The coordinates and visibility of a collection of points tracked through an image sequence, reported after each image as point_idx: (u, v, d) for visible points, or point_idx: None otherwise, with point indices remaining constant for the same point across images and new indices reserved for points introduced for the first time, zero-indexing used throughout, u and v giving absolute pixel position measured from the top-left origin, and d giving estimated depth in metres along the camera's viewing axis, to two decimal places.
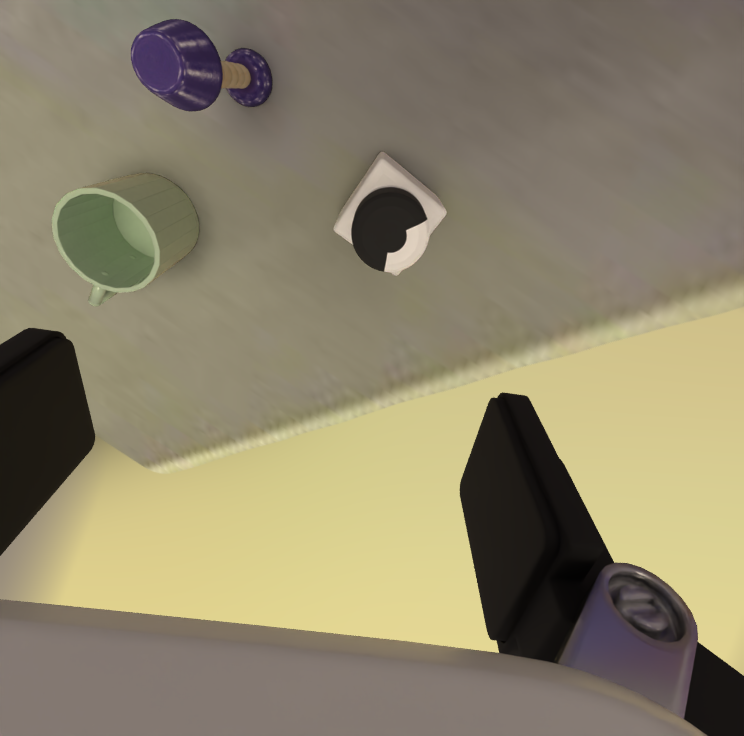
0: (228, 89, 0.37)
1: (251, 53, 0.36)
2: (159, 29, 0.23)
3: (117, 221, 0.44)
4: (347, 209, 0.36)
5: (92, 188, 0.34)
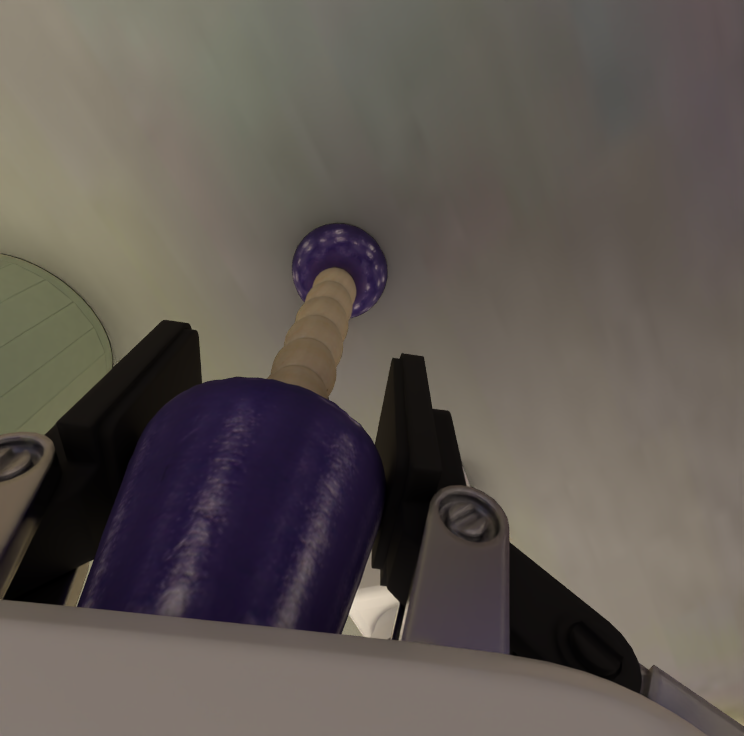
0: (297, 276, 0.18)
1: (375, 257, 0.18)
2: None
3: None
4: (381, 591, 0.20)
5: None
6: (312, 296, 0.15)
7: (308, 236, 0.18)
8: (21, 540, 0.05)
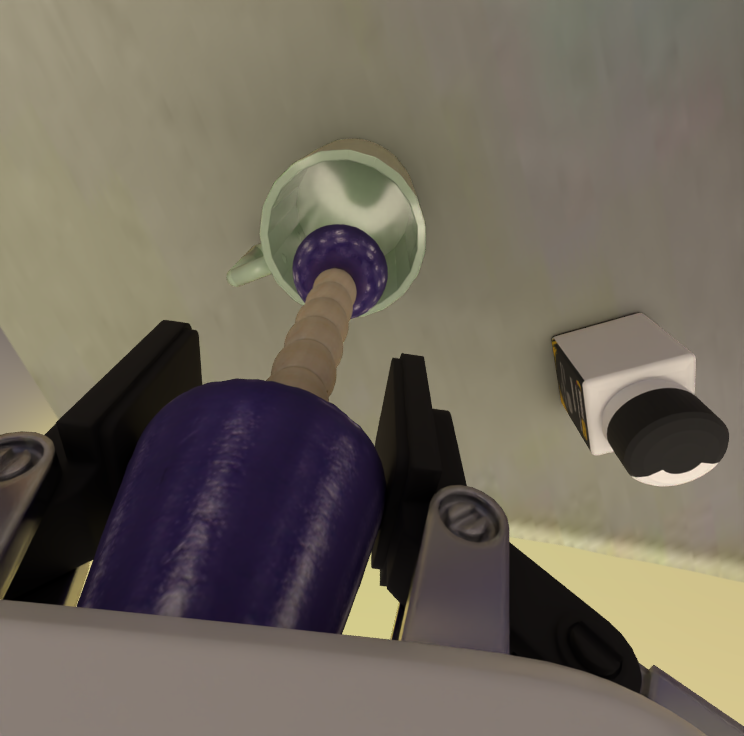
0: (297, 277, 0.18)
1: (375, 257, 0.18)
2: None
3: (306, 178, 0.29)
4: (617, 375, 0.29)
5: (394, 171, 0.21)
6: (312, 297, 0.15)
7: (308, 237, 0.18)
8: (21, 540, 0.05)
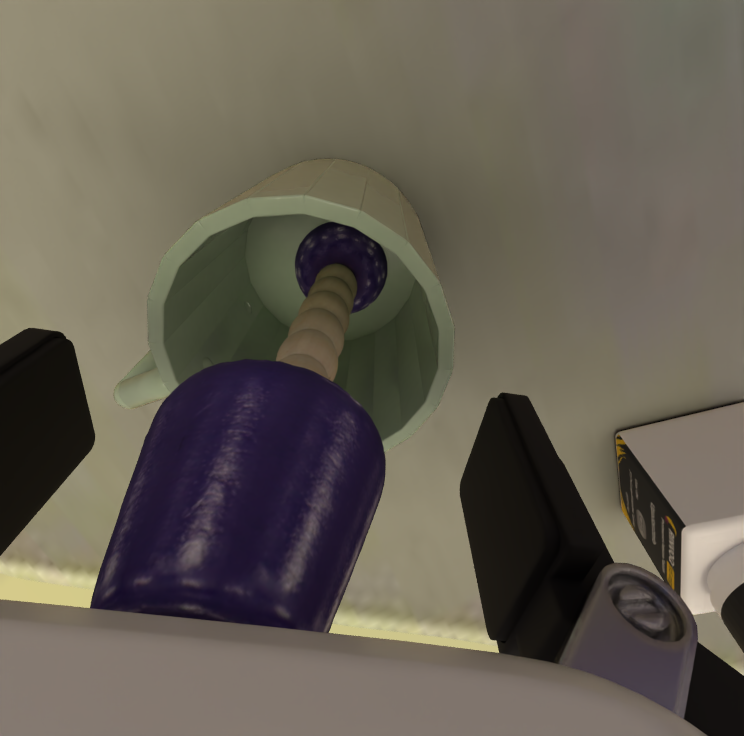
0: (299, 272, 0.19)
1: (375, 253, 0.18)
2: (284, 584, 0.05)
3: (258, 219, 0.19)
4: (740, 522, 0.19)
5: (396, 236, 0.11)
6: (314, 290, 0.15)
7: (310, 233, 0.19)
8: None
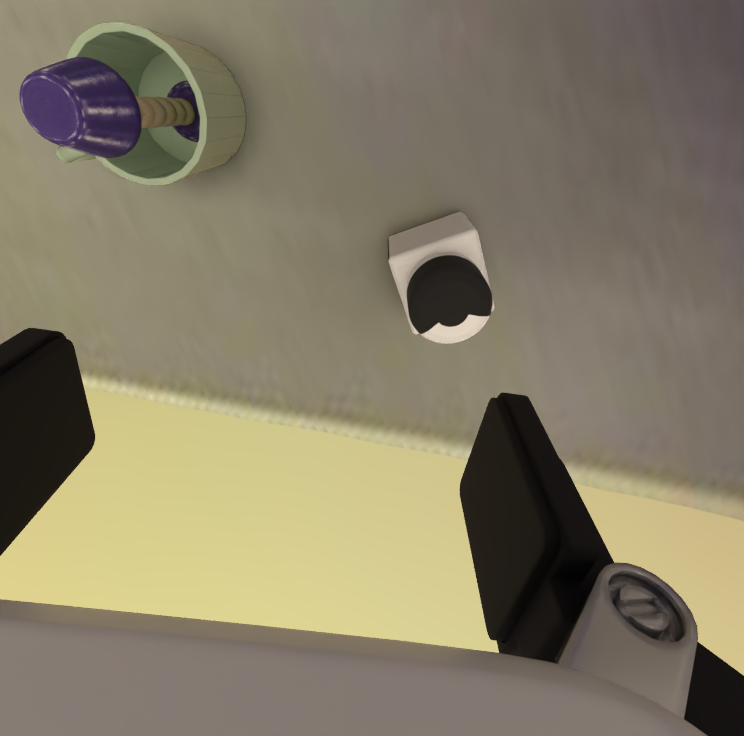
0: None
1: None
2: (71, 83, 0.20)
3: (143, 80, 0.33)
4: (415, 251, 0.33)
5: (164, 42, 0.25)
6: None
7: (172, 87, 0.33)
8: None
